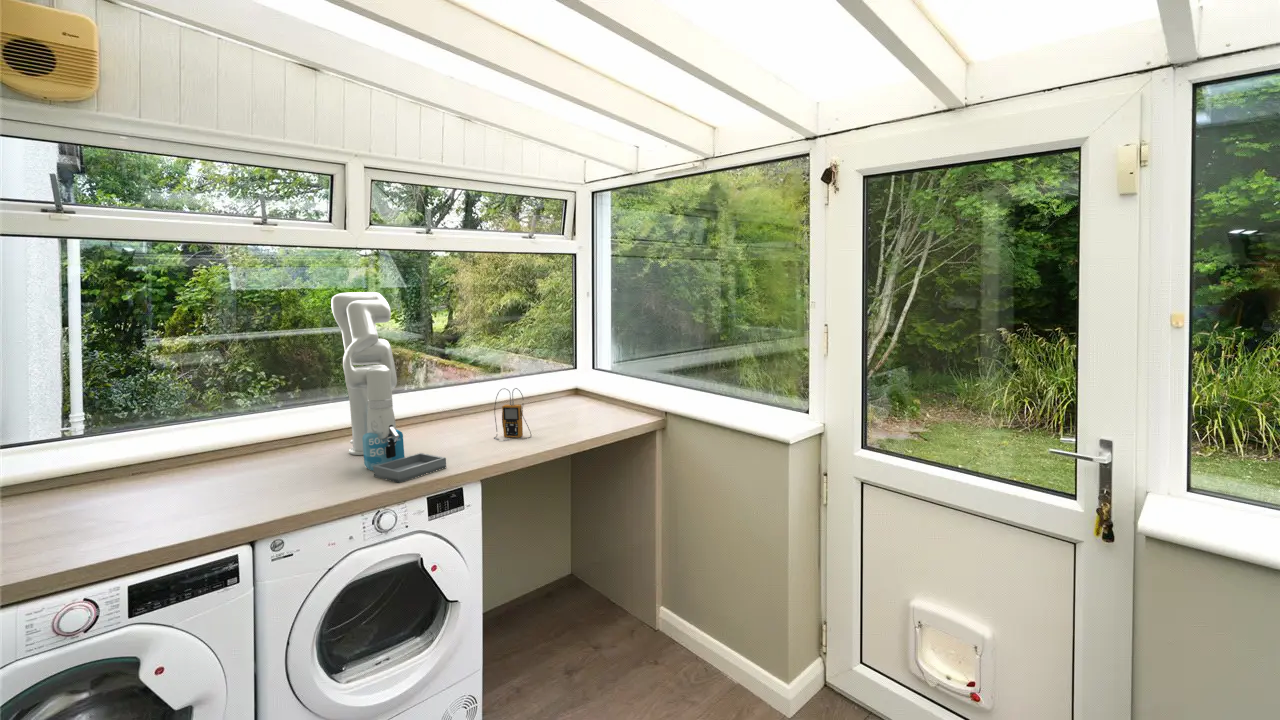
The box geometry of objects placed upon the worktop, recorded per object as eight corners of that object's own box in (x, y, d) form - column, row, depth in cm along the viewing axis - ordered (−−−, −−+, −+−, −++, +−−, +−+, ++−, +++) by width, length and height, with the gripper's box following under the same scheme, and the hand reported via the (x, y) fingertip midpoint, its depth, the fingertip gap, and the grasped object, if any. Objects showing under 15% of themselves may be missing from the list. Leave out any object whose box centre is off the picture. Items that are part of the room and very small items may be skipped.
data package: (368, 471, 197) (365, 436, 195) (364, 468, 200) (361, 433, 199) (405, 464, 204) (402, 430, 203) (401, 461, 208) (398, 428, 206)
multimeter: (487, 442, 233) (485, 391, 230) (497, 435, 242) (495, 387, 240) (523, 442, 230) (521, 392, 228) (532, 436, 240) (529, 387, 238)
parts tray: (374, 476, 191) (373, 466, 190) (421, 462, 206) (420, 452, 205) (399, 483, 184) (398, 472, 183) (446, 467, 199) (445, 457, 198)
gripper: (355, 404, 201) (359, 455, 203) (386, 408, 192) (390, 462, 194) (375, 400, 208) (378, 450, 210) (406, 404, 198) (409, 456, 200)
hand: (384, 455), depth 202 cm, fingers open, 6 cm apart
